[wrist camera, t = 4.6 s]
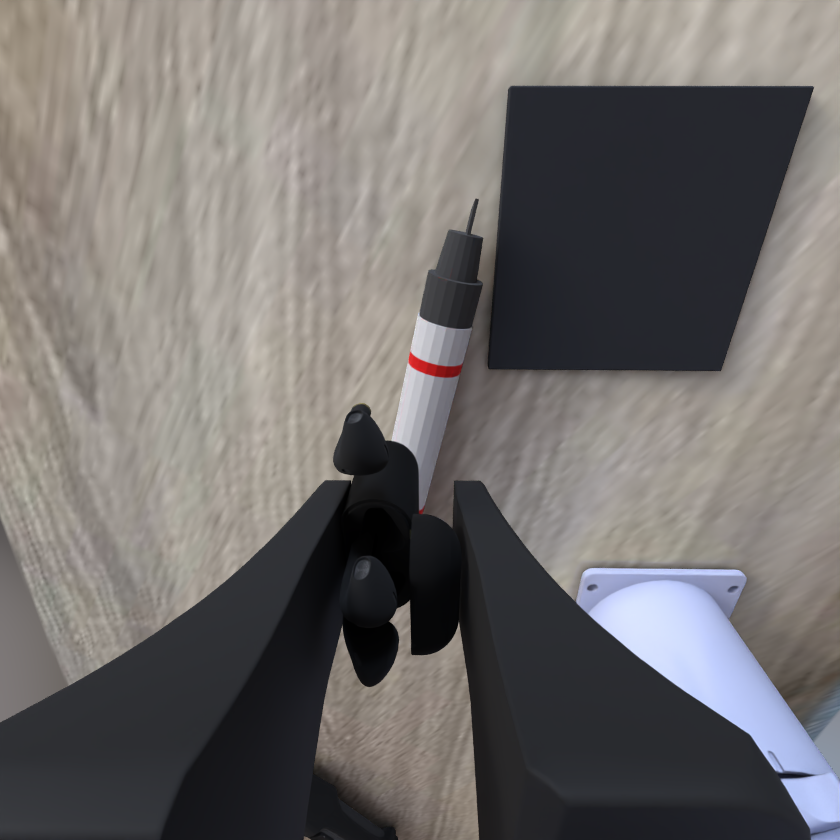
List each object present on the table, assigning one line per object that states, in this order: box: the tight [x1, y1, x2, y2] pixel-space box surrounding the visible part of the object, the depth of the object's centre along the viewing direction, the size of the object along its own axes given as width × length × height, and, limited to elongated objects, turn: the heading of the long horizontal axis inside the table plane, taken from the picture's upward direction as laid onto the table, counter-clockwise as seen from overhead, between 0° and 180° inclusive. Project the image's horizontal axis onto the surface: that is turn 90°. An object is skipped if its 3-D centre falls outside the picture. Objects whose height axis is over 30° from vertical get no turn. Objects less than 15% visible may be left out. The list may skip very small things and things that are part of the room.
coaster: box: [488, 86, 814, 371], centre depth 16 cm, size 9×9×1 cm
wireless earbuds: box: [333, 403, 462, 687], centre depth 10 cm, size 7×2×5 cm, turn 0°
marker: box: [392, 199, 483, 514], centre depth 18 cm, size 15×2×2 cm, turn 168°
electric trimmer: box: [304, 774, 398, 840], centre depth 32 cm, size 4×16×3 cm, turn 30°
